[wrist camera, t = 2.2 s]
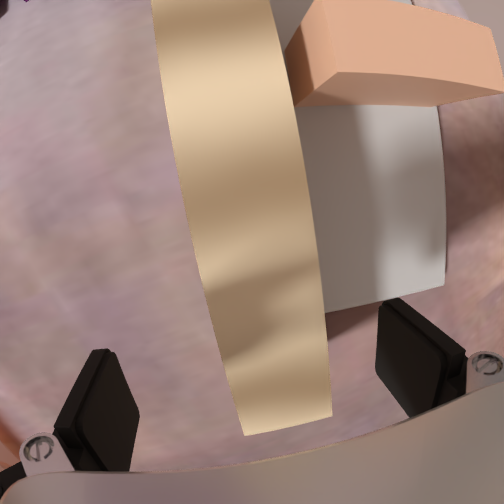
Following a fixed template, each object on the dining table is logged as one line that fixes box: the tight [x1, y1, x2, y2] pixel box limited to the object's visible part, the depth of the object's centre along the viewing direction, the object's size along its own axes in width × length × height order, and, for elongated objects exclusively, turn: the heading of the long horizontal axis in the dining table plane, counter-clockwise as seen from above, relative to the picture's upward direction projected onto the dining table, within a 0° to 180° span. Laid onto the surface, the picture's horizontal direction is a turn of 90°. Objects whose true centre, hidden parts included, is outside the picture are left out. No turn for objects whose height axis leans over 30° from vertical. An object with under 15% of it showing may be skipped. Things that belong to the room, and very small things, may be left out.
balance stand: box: [269, 0, 504, 313], centre depth 11 cm, size 24×9×7 cm, turn 8°
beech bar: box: [151, 0, 332, 436], centre depth 13 cm, size 20×4×6 cm, turn 10°
